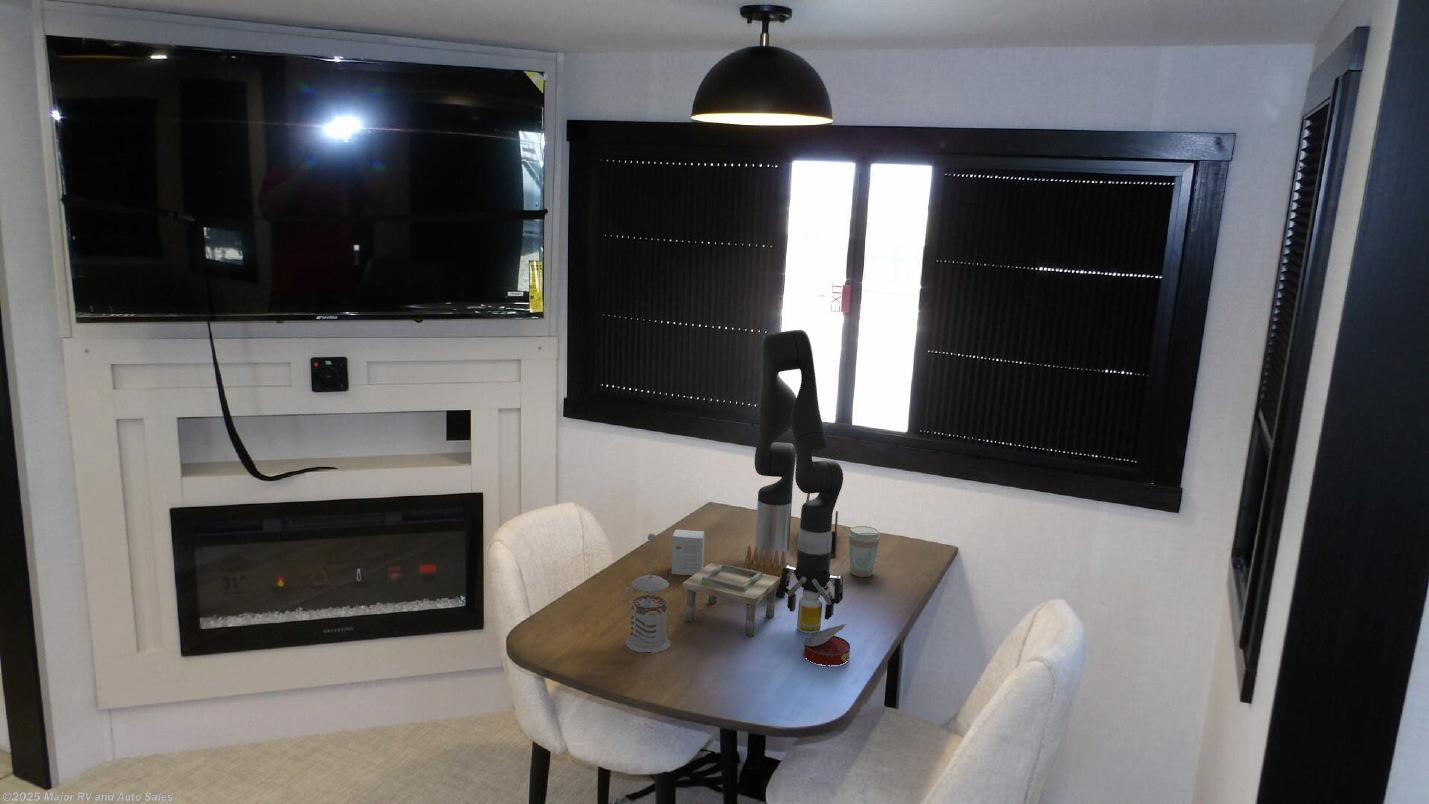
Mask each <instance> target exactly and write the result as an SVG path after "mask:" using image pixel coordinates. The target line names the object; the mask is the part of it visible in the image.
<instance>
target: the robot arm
mask: <svg viewBox="0 0 1429 804" xmlns="http://www.w3.org/2000/svg"><path fill="white" fill-rule="evenodd" d="M761 351H762V352H761V353H762V355H761V356H762V357H761V358H762V384H761V394H760V401H759V415H758V418H759V419H758V433H757V434H758V435H757V441H756V446H755V447H756V448H755V452H754V468H755V472H756V473H757V474H758V475H759V476H762V477H775V478H776V477H777V478H780V479H778V480H777V481H776V482H774V483H771V484H769V485H764V486H763V487H761V488H759V490H758V492H757V508H756V524H755V525H756V526H755V539H754V540H755V544H754V548H755V547H757V549H758V562H759V563H760V555H761V551H762V548H764V550H765V564H766V563H767V555H768V551H769V549H771V552H772V568H773V563H774V555H775V552H776V550H778V554H779V567H780V562H781V556H782V552H783V551H784V552H785V556H786V566H785V567H784V568H783V570H782V578H781V586H780V591H781V592H785V594H787V609H788V611H789V612H792V613H793V612H794V611H795V610H796V607H797V594H796V592H797V591H798V590H799V589H800V588H802V589H804V590H811V591H813V592H817V591H819V593H820V597H822V598H823V600H824V601H825V602H826V603H825V607H824V620H827V621H828V620H830V619H831V617H832V616H833V615H834V609H835V608H834V607H835V605H839V604H840V603H841V601H842V600H843V599H844V598H843V597H844V594H843V592H844V591H843V590H844V577H843V575H841V574H840V575H837V576H834V575H831V573H830V570H831V569H830V568H831V558H830V557H831V543H832V534H831V532H832V527H833V513H834V509H835V507H836V504H837V501H838V498H839V496H840V493H841V490H842V487H843V485H844V484H843V483H844V471H843V469H842V467H841V465H840V464H839V462H837V461H835V460H832V459H831V460H817V461H816V460H814V461H813V456H814V455H816V454H819V453H821V452H823V451H825V449H826V448H827V446H828V441H827V438H826V437H827V436H826V433H825V428H824V424H823V421H822V417H821V412H820V405H819V398H818V388H817V379H816V370H815V363H814V354H813V349H812V344H811V341H810V336H809V335H808V333H807V331H805V330H804V329H794V330H793V329H792V330H786V331H779V332H772V333H769V334H767V335H766V336H764V338H763V342H762V350H761ZM795 370H800V379H801V380H800V386H799V390H798V393H797V395H796V394H795V391H793V389H792V388H791V387H790V386H789V385H788V384H787V383H786V382H785V381H784V380H783V379H782V378H781V376H780V375H779V373H781V372H786V371H795ZM790 429H791V431H792V436H793V440H794V444H795V445H794V444H793V443H791V442H776V441H777V440H778V439H779V438H781V437H782V436H783V435H785V434H786V433H787V432H788V431H789V430H790ZM794 476H795V477H794ZM794 478H795V483H796V486H797V488H798V489H799V490H800V491H801V492H802V493H804V494H810V495H811V494H818V495H817V496H816V497H815V498H813V499H809V501H807V502H804V503H802V506H801V510H800V521H799V522H800V524H799V525H800V527H799V531H798V532H799V533H798V538H797V539H798V540H797V549H796V550H797V552H796V553H797V554H796V567H792V565H790V564H788V563H789V551H790V538H791V537H790V535H791V523H792V522H791V521H792V520H791V519H792V507H793V505H792V502H793V487H794ZM793 574H794V576H795V578H796V580H797V582H796V583H795V584H794V585H793V586H792V587H791V586H790V581H791V580H790V579H791V577H792V576H793ZM829 582H831V584H832V586H833V587H834V592H833V593H832V590H831V588H830V585H829V584H828V583H829Z"/></svg>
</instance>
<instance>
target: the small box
mask: <svg viewBox="0 0 1429 804" xmlns="http://www.w3.org/2000/svg"><path fill="white" fill-rule="evenodd" d="M671 539H672V540H671V541H672V542H671V575H679V576H680V575H681V576H682V575H683V576H693V575H694V574H696V573H697V572H699V571H700V570H702V569H703V568H704V567H705V565H704V561H705V531H701V530H689V529H675V530H674V532H673V534H672V537H671Z"/></svg>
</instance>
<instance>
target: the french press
mask: <svg viewBox="0 0 1429 804" xmlns="http://www.w3.org/2000/svg"><path fill="white" fill-rule="evenodd" d="M647 540H648V541H651V543H650V544H651V545H650V568H649V571H650V572H649V574H648V575H647V574H646V575H643V576H639V577H636V578H635V579H633V580H632V582H631V586H628V587H626V588H625V590H624V591H623V594H622V595H621V596H622V597H621V598H622V601H621V602H622V607H623V610H624V612H625V613H626V615H627V616H628V617H629V618H630V636H629V637H628V638H627V639H626V641H625V645H626V647H627V648H628V647H629V648H628V649H630V650H631V651H634V650H635V651H634V652H637V653H641V652H656V653H660V652H659V651H661V652H663V651H665V650H668V648H670V646H671V641H670V639H669V638H668V637H667V619H668V618H667V616H668V606H667V605H666V604H667V601H666V599H665V598H664V597H661V596H659V595H654V594H655V593H661V592H663V591H666V590H667V589H668V588H669V586H670V583H669V582H668V580H667V579H665V578H663V577H661V576H658V575H653V574H652V559H653V541H656V540H657V535H656V534H655V533H649V534H648V535H647ZM631 588H632V592H633V593H636V592H642V593H643V592H644V593H649V594H644V595H639V596H636V597H635V598H634V599H633V600H632V604H633V605H630V604H629V593H630V590H631ZM626 592H627V594H626ZM652 593H653V594H652ZM625 594H626V602H627V606H628V608H629V609H628V610H629V611H630V612H631V615H630V614H629V612H628V611H627V610H626V608H625V604H624V603H625V602H624V599H625V598H624V597H625ZM635 608H636V609H635ZM660 609H661V610H660ZM650 612H655V613H650ZM647 613H648V614H647ZM649 613H650V614H649ZM656 613H658V614H656ZM634 623H635V624H634ZM634 629H635V630H634ZM669 645H670V646H669ZM667 647H668V648H667ZM662 650H663V651H662Z"/></svg>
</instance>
